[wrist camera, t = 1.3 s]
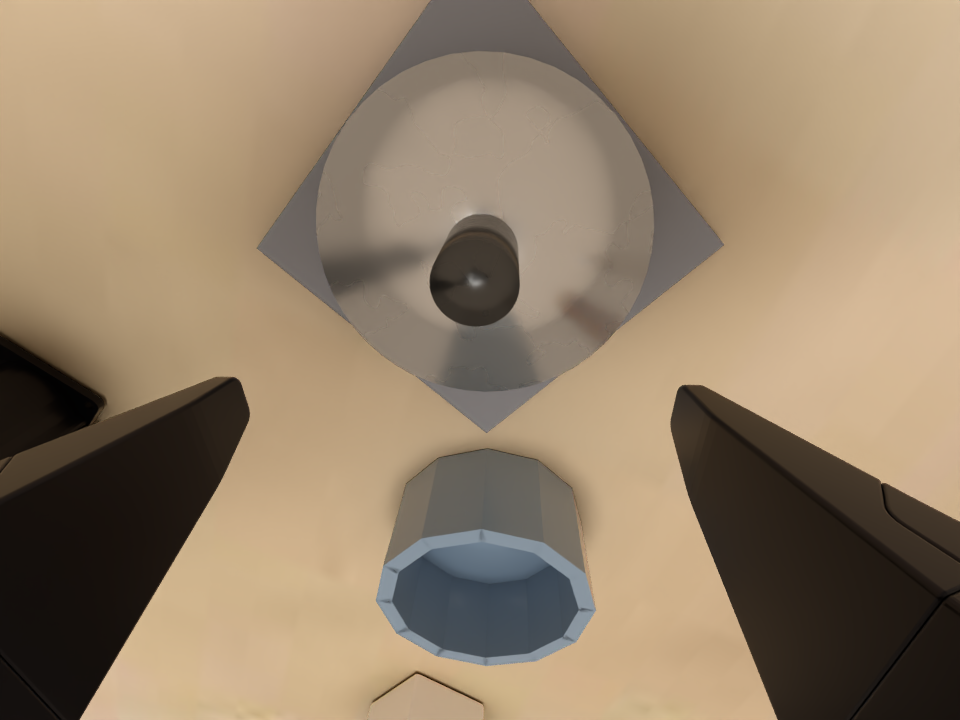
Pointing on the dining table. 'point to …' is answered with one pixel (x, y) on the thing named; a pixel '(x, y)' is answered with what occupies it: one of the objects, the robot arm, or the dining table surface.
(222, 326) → the dining table surface
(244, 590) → the dining table surface
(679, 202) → the mat
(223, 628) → the dining table surface
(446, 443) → the dining table surface
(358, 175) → the lid
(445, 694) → the milk carton
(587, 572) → the blue bowl
